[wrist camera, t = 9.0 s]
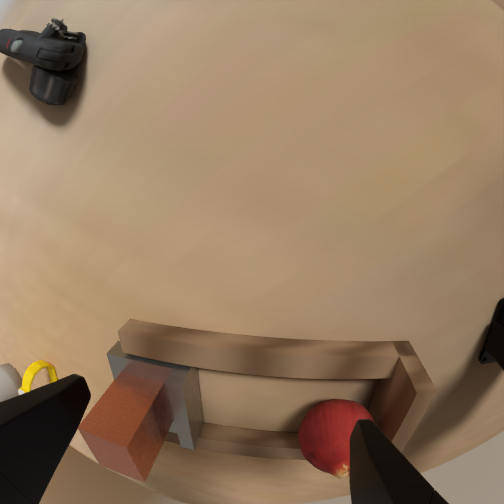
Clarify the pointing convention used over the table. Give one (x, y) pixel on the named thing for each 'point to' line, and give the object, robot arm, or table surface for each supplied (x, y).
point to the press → (142, 412)
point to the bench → (293, 366)
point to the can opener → (47, 58)
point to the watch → (31, 373)
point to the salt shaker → (9, 382)
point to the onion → (330, 435)
